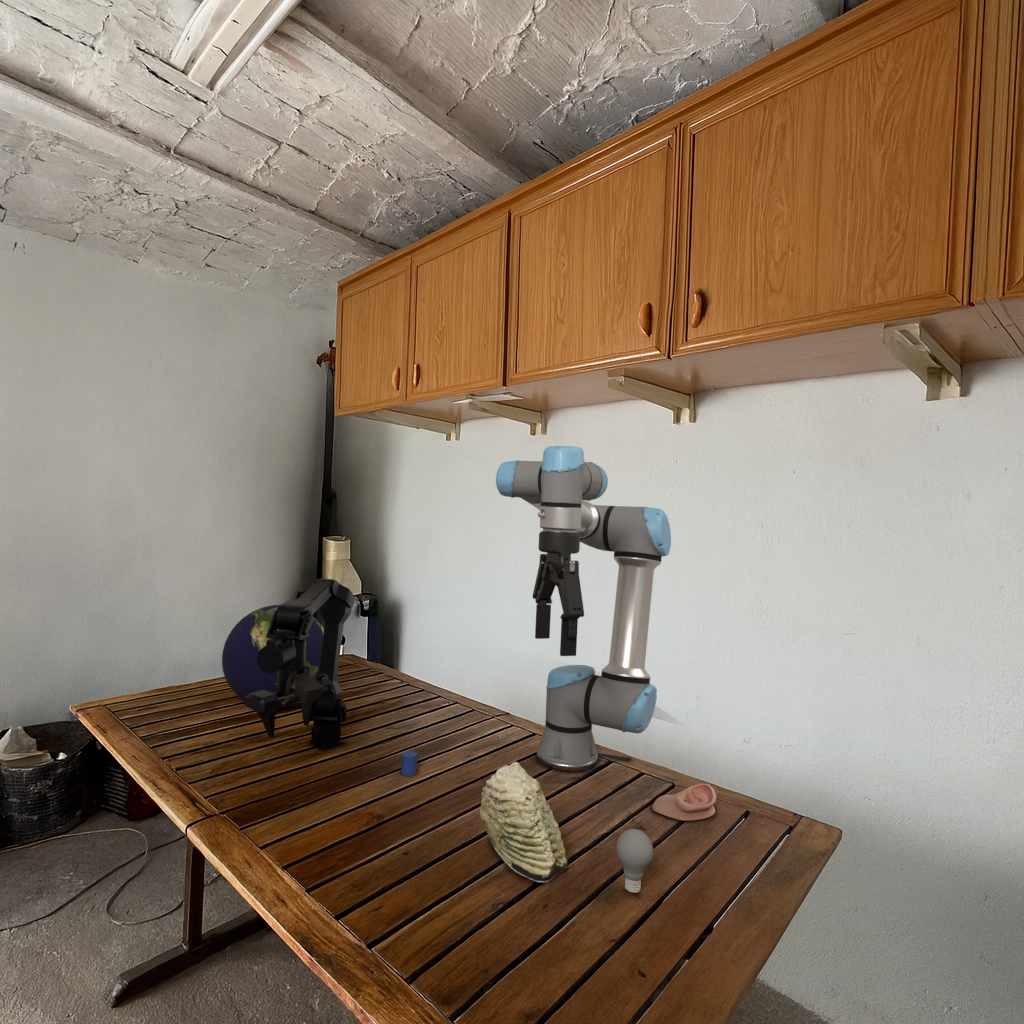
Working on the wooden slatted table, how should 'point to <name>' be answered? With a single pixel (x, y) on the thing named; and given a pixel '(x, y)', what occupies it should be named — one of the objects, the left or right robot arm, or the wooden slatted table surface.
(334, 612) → the left robot arm
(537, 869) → the fossil
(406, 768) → the cylinder
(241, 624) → the globe
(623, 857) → the light bulb
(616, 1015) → the wooden slatted table surface
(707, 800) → the anatomical model
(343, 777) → the wooden slatted table surface
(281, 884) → the wooden slatted table surface
